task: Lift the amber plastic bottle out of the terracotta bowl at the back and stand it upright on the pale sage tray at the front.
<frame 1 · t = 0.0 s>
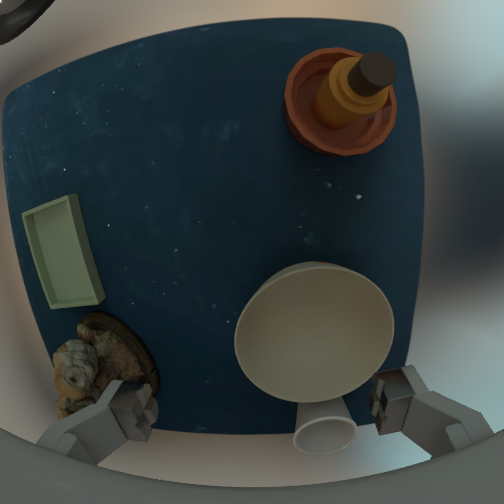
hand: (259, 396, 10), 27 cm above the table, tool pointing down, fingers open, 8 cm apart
bowl: (306, 300, 38), on the table
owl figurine: (122, 358, 42), on the table
dixie cup: (317, 388, 42), on the table
tray: (64, 252, 38), on the table
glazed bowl: (331, 109, 31), on the table
bottle: (332, 108, 30), point 1 cm above the table, touching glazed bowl
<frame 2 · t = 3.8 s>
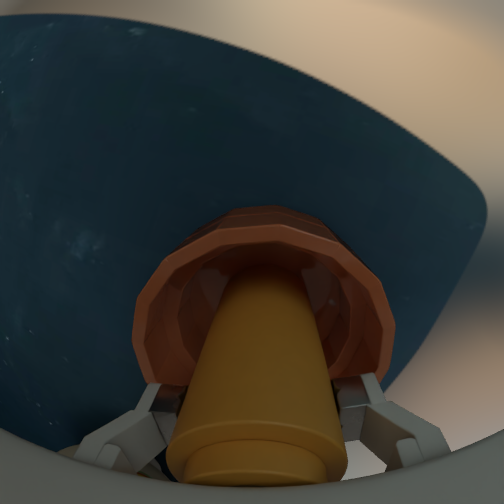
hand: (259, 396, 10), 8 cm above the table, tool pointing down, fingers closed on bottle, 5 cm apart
bowl: (132, 457, 24), on the table
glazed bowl: (265, 301, 18), on the table
bottle: (265, 305, 17), point 1 cm above the table, touching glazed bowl, gripper
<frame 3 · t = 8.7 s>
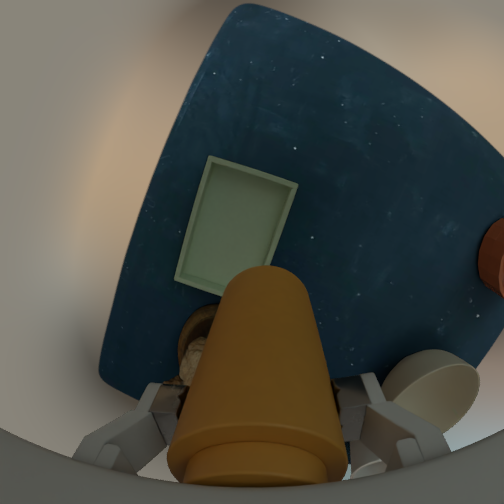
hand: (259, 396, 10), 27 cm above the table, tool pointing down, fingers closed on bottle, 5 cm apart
bowl: (409, 369, 40), on the table
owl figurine: (220, 357, 41), on the table
dixie cup: (364, 431, 45), on the table
tray: (234, 230, 36), on the table
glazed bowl: (500, 253, 34), on the table
bottle: (265, 306, 17), point 20 cm above the table, touching gripper
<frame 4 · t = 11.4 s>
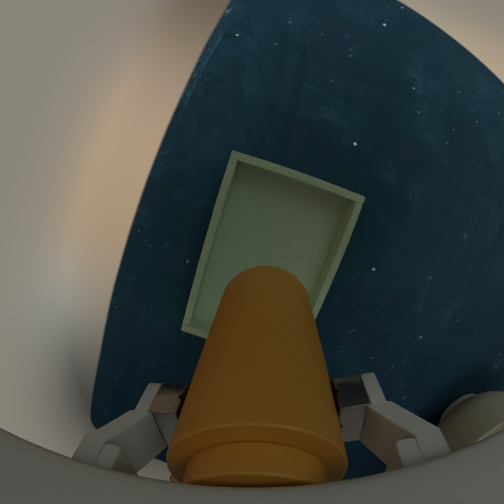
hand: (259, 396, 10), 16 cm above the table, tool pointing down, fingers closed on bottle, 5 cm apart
bowl: (458, 409, 30), on the table
tray: (267, 260, 25), on the table
bottle: (265, 306, 17), point 8 cm above the table, touching gripper
when the fingers open (8 cm above the table, at t = 13.7 s): bottle stays where it is, resting on tray.
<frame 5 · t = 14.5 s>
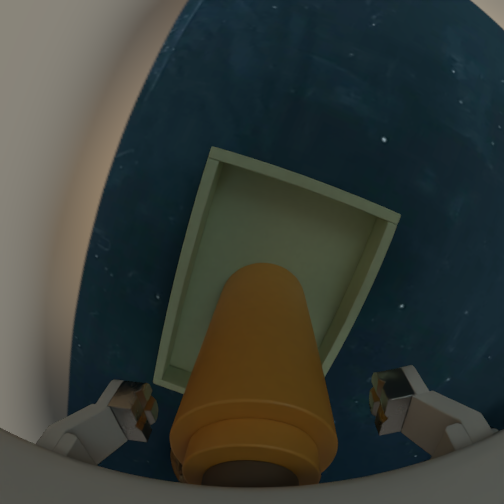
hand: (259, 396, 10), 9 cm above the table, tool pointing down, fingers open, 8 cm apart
tray: (263, 298, 18), on the table
bottle: (262, 302, 18), resting on tray
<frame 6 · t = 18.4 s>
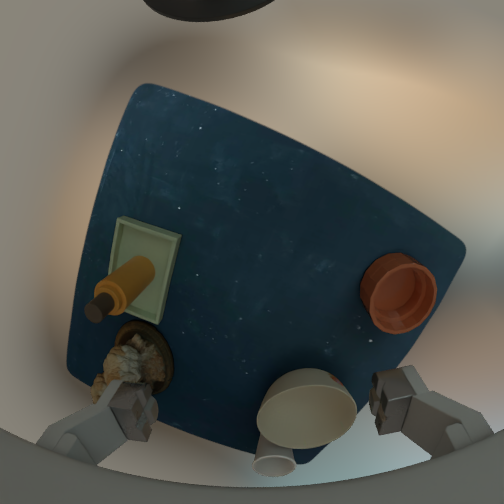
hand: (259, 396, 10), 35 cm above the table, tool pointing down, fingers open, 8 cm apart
bowl: (303, 381, 51), on the table
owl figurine: (145, 359, 52), on the table
dixie cup: (274, 430, 56), on the table
tray: (142, 269, 47), on the table
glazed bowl: (391, 285, 45), on the table
bottle: (141, 270, 46), resting on tray
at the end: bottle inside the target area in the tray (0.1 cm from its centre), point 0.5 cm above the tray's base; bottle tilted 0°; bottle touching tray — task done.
